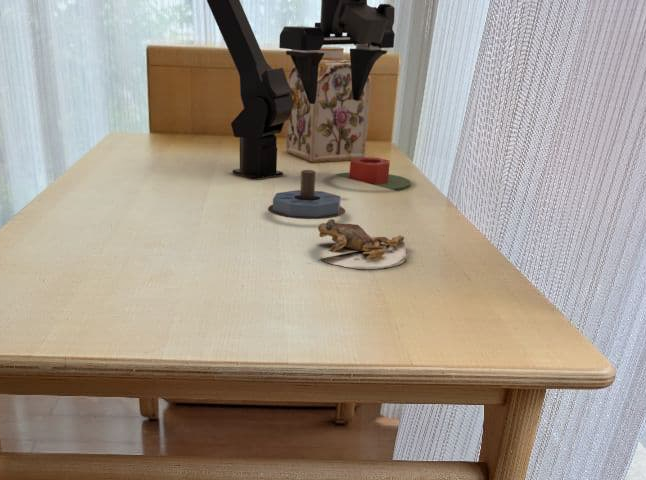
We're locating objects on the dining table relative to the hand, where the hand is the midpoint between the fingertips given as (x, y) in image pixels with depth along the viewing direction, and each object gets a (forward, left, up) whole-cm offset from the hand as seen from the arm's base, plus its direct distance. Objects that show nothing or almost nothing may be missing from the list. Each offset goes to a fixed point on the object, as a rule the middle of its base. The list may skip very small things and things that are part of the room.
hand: (334, 102), depth 129 cm
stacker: (+16, -18, -12) cm, 27 cm away
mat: (+3, +6, -12) cm, 14 cm away
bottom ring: (+16, -18, -11) cm, 26 cm away
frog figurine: (+35, -25, -12) cm, 45 cm away
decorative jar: (-20, +16, -12) cm, 28 cm away
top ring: (+3, +6, -12) cm, 13 cm away
